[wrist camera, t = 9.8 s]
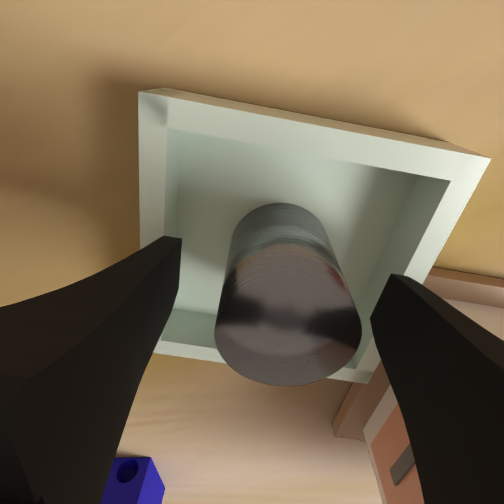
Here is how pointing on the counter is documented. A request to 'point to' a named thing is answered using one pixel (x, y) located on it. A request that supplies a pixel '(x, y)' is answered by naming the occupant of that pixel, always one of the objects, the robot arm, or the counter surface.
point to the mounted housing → (383, 398)
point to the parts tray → (291, 200)
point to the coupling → (285, 300)
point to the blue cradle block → (133, 482)
